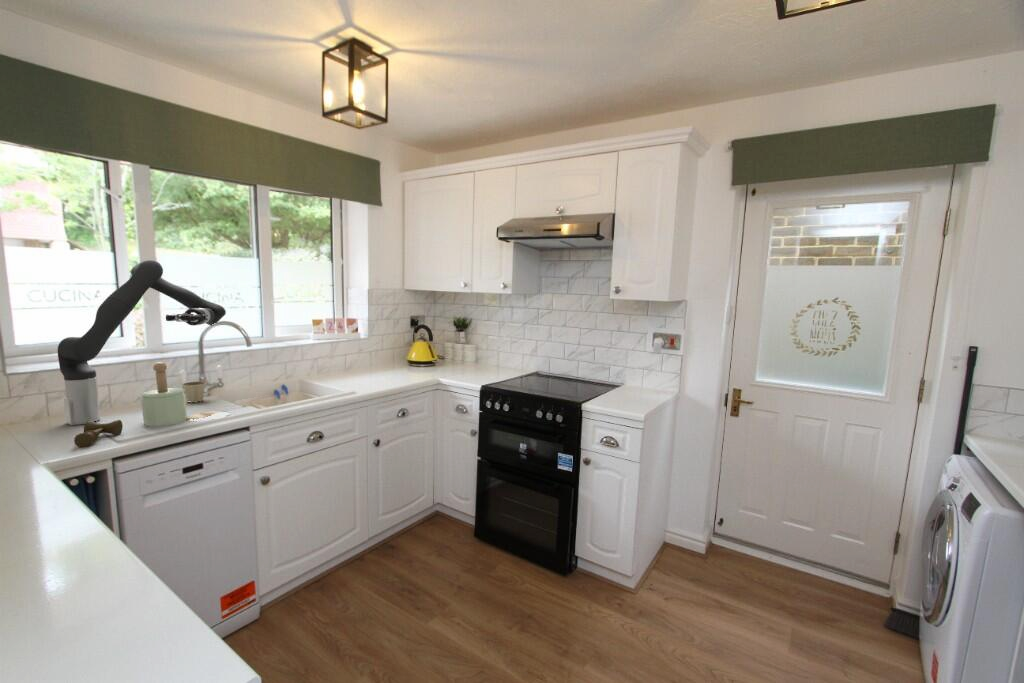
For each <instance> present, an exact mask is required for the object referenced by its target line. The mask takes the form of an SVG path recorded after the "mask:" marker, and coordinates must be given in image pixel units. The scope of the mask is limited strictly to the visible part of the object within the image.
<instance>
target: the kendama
mask: <svg viewBox="0 0 1024 683" xmlns="http://www.w3.org/2000/svg"><path fill="white" fill-rule="evenodd" d="M123 426H124V425H123V422H122V420H121V419H117V420H114V421H111V422H109V423H99V422H97V421H96V422H94V421H91V420H89V421H87V422H86V423H85V424H83V432H80V433H78V434H77V435H75V437H74V438H73V442H74V444H75V446H76V447H78V448H89V447H92V445H93V444H94V443H96V442H97V441H98V440H99V437H100V434H111V435H114V436H120V435H121V434H120V433H122V432H123Z"/></svg>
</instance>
